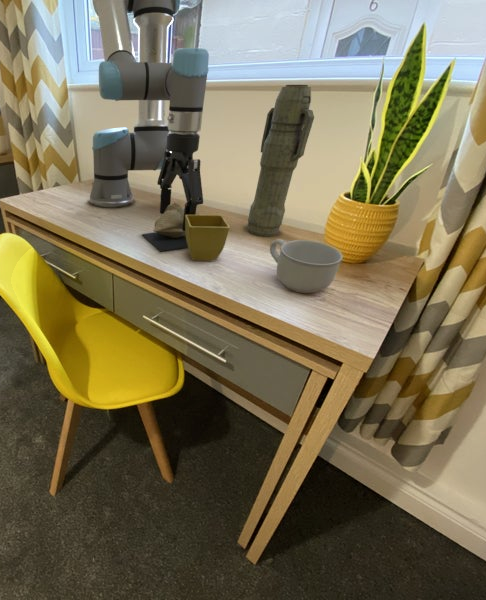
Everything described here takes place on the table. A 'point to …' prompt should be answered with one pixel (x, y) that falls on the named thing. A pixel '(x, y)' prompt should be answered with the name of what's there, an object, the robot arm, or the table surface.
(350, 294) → the table surface
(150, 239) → the mat
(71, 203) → the table surface
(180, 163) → the robot arm
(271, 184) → the thermos
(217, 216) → the flower pot
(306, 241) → the teacup
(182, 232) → the seashell
